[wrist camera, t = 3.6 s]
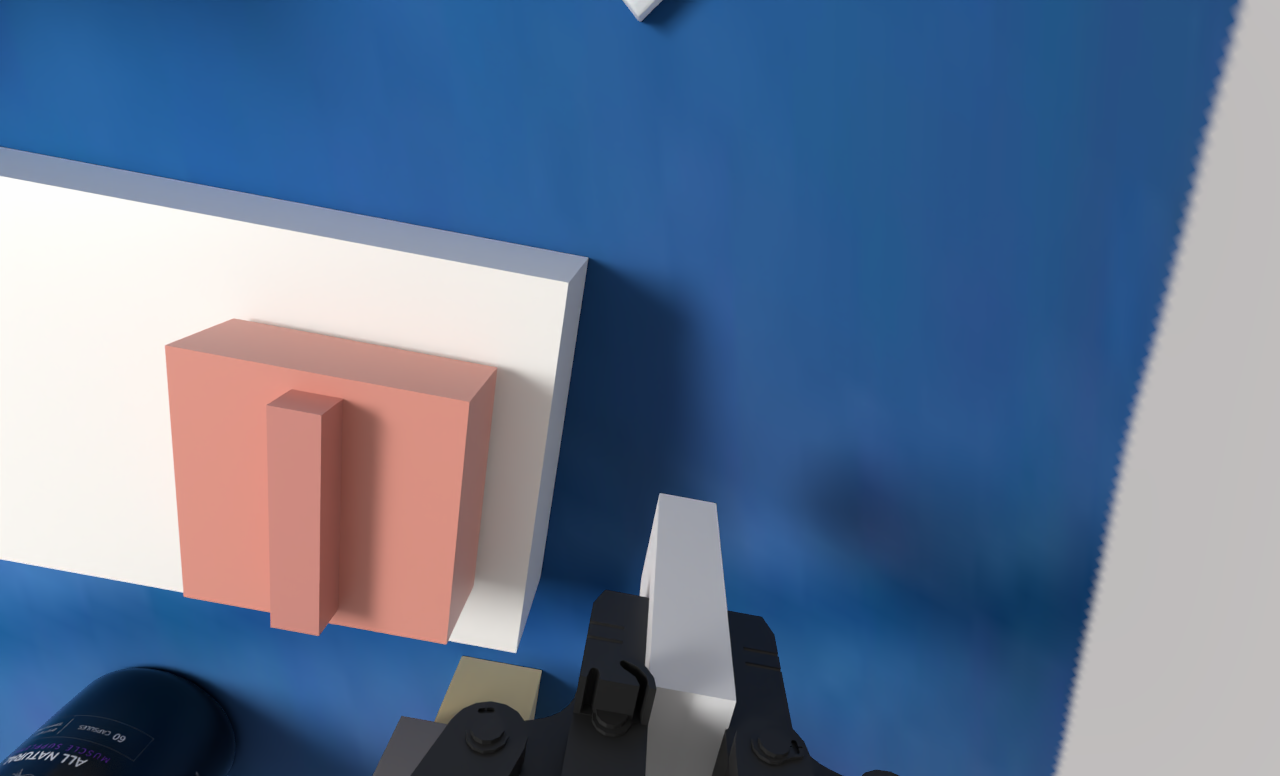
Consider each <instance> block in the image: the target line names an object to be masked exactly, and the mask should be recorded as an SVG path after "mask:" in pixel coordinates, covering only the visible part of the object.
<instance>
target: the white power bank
mask: <svg viewBox="0 0 1280 776" xmlns="http://www.w3.org/2000/svg"><path fill="white" fill-rule="evenodd" d="M661 1H662V0H623V2H624V3H625V4H626V5H627V7H628V8H629V9H630V11H631V12H632V13H633V14H634V16H635V17H636V18H637V19H638V21H642V20H643V19H644V18H645V17H646V16H647V15H648V14H649V13H650V12H651V11H652V10H653V9H654V8H655V7H656V6H657V5H658V4H659V3H660V2H661Z"/></svg>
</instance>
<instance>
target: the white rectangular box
mask: <svg viewBox="0 0 1280 776" xmlns="http://www.w3.org/2000/svg"><path fill="white" fill-rule="evenodd" d="M587 265H588V257H583V256H577V255H572V254H567V253H561V252H556V251H551V250H546V249H540V248H535V247H530V246H524V245H519V244H514V243H508V242H503V241H498V240H492V239H487V238H482V237H477V236H471V235H466V234H461V233H455V232H450V231H445V230H439V229H434V228H429V227H423V226H418V225H413V224H408V223H402V222H397V221H392V220H386V219H381V218H376V217H370V216H365V215H360V214H354V213H349V212H344V211H339V210H333V209H328V208H323V207H317V206H312V205H307V204H301V203H296V202H291V201H285V200H280V199H275V198H270V197H264V196H259V195H254V194H248V193H243V192H238V191H232V190H227V189H222V188H216V187H211V186H206V185H201V184H195V183H190V182H185V181H179V180H174V179H169V178H163V177H158V176H153V175H147V174H142V173H137V172H132V171H126V170H121V169H116V168H110V167H105V166H100V165H94V164H89V163H84V162H78V161H73V160H68V159H63V158H57V157H52V156H47V155H41V154H36V153H31V152H25V151H20V150H15V149H10V148H4V147H0V559H2V560H8V561H13V562H19V563H24V564H30V565H35V566H41V567H46V568H52V569H57V570H63V571H68V572H74V573H79V574H85V575H90V576H96V577H101V578H107V579H112V580H118V581H123V582H129V583H134V584H140V585H145V586H151V587H156V588H162V589H167V590H173V591H178V592H183V580H182V567H181V553H180V540H179V527H178V514H177V501H176V487H175V474H174V461H173V448H172V435H171V421H170V408H169V395H168V382H167V369H166V355H165V345H167V344H169V343H172V342H174V341H177V340H180V339H182V338H185V337H187V336H190V335H192V334H195V333H197V332H200V331H202V330H205V329H208V328H210V327H213V326H215V325H218V324H220V323H223V322H225V321H228V320H230V319H233V318H235V319H240V320H246V321H251V322H257V323H262V324H267V325H273V326H278V327H283V328H289V329H294V330H299V331H305V332H310V333H316V334H321V335H326V336H332V337H337V338H342V339H348V340H353V341H358V342H364V343H369V344H375V345H380V346H385V347H391V348H396V349H401V350H407V351H412V352H417V353H423V354H428V355H434V356H439V357H444V358H450V359H455V360H460V361H466V362H471V363H476V364H482V365H487V366H493V367H497V376H496V385H495V395H494V404H493V413H492V422H491V431H490V441H489V450H488V459H487V468H486V477H485V486H484V496H483V505H482V514H481V523H480V532H479V542H478V551H477V560H476V569H475V578H474V586H473V588H472V590H471V593H470V595H469V597H468V599H467V601H466V603H465V606H464V608H463V610H462V612H461V614H460V616H459V618H458V621H457V623H456V625H455V627H454V629H453V631H452V634H451V636H450V638H449V640H448V641H453V642H458V643H464V644H469V645H475V646H480V647H486V648H491V649H497V650H502V651H508V652H513V653H516V652H517V649H518V646H519V643H520V639H521V636H522V633H523V630H524V627H525V624H526V621H527V617H528V614H529V611H530V608H531V605H532V602H533V599H534V595H535V592H536V589H537V586H538V583H539V580H540V577H541V571H542V564H543V557H544V551H545V544H546V537H547V531H548V524H549V517H550V511H551V504H552V497H553V491H554V484H555V477H556V471H557V464H558V457H559V451H560V444H561V438H562V431H563V424H564V418H565V411H566V404H567V398H568V391H569V384H570V378H571V371H572V364H573V358H574V351H575V344H576V338H577V331H578V324H579V318H580V311H581V305H582V298H583V291H584V285H585V278H586V271H587Z"/></svg>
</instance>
